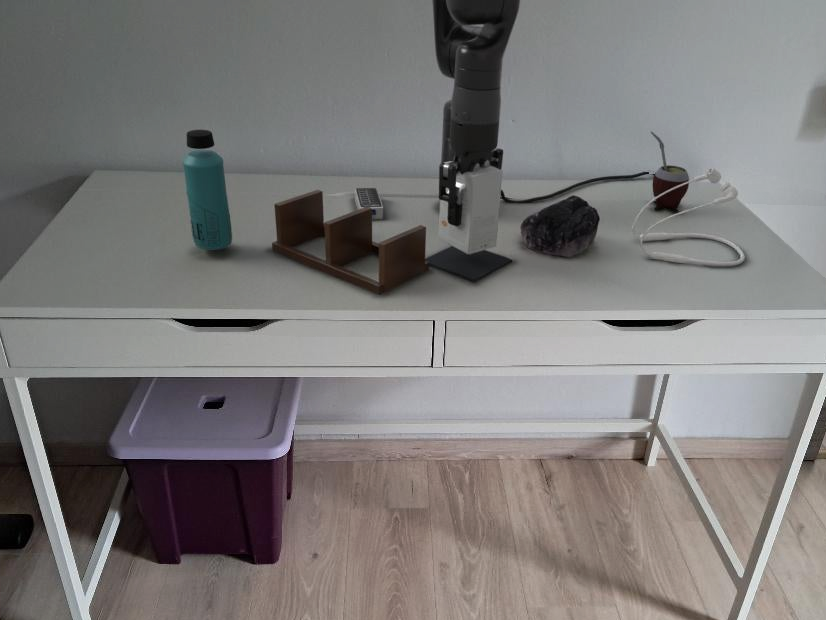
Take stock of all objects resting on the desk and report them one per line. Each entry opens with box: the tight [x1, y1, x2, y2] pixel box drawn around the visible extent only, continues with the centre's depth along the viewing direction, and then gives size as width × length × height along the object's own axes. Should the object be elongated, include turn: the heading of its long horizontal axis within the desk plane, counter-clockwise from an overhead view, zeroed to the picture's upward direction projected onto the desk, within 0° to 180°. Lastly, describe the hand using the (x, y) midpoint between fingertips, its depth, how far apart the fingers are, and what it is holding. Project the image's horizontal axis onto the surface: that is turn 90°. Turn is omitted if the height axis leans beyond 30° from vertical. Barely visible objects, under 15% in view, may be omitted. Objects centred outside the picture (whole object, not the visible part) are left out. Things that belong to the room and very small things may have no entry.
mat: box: [425, 245, 513, 284], centre depth 135 cm, size 11×11×1 cm
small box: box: [437, 161, 503, 254], centre depth 129 cm, size 8×6×13 cm
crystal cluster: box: [520, 194, 601, 258], centre depth 141 cm, size 13×14×10 cm
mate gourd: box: [650, 131, 690, 214], centre depth 158 cm, size 8×8×15 cm
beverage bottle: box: [182, 129, 233, 251], centre depth 128 cm, size 6×7×20 cm
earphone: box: [631, 167, 746, 267], centre depth 142 cm, size 14×17×18 cm
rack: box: [271, 189, 430, 296], centre depth 131 cm, size 12×24×8 cm, turn 52°
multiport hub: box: [354, 187, 384, 220], centre depth 153 cm, size 4×11×2 cm, turn 11°
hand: (468, 218), depth 130 cm, fingers closed on small box, 7 cm apart
